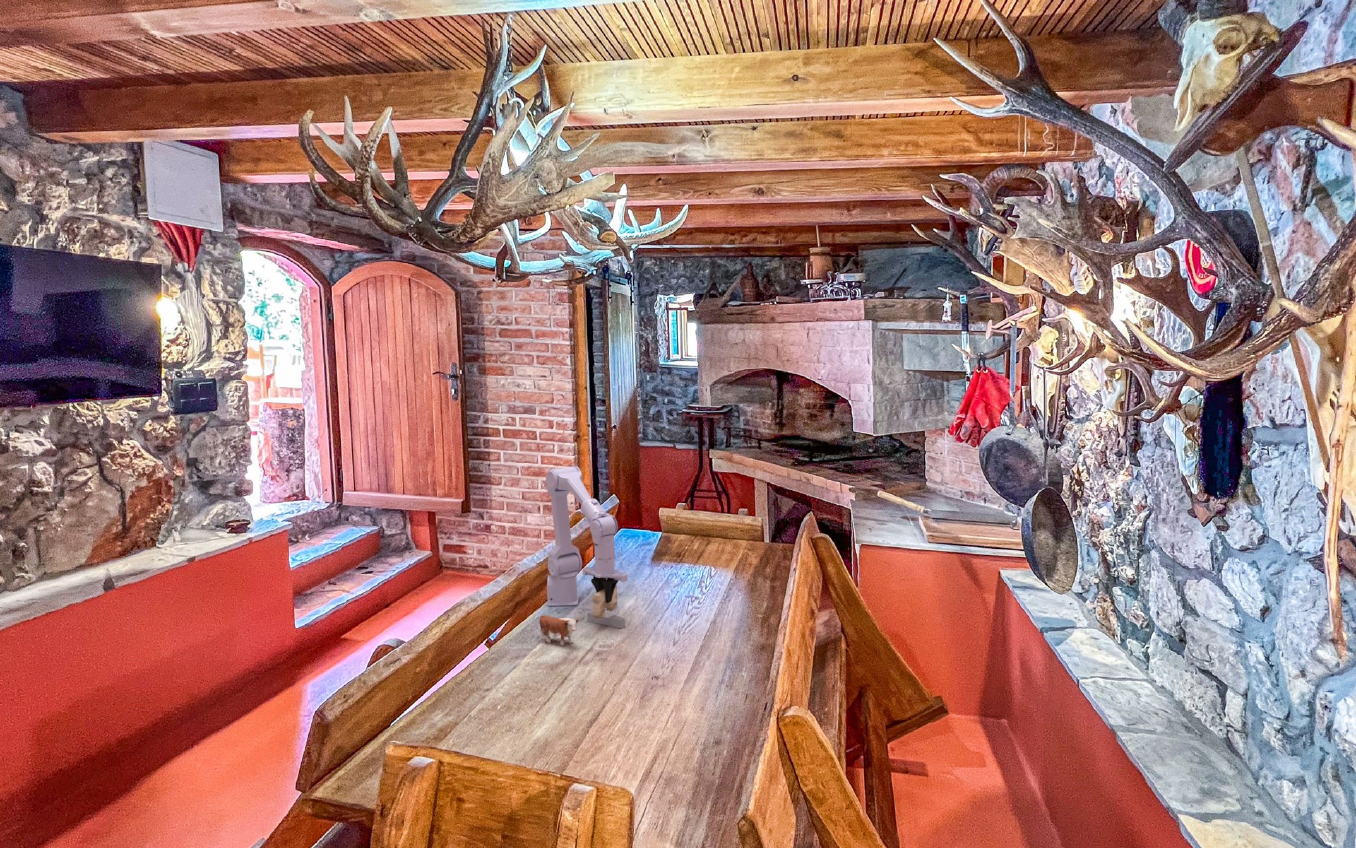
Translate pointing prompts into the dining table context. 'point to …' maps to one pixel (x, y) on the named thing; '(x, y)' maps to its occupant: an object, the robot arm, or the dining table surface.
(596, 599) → the beige slab block
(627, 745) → the dining table surface
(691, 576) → the dining table surface
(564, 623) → the bull figurine
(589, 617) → the slate rail
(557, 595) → the robot arm
